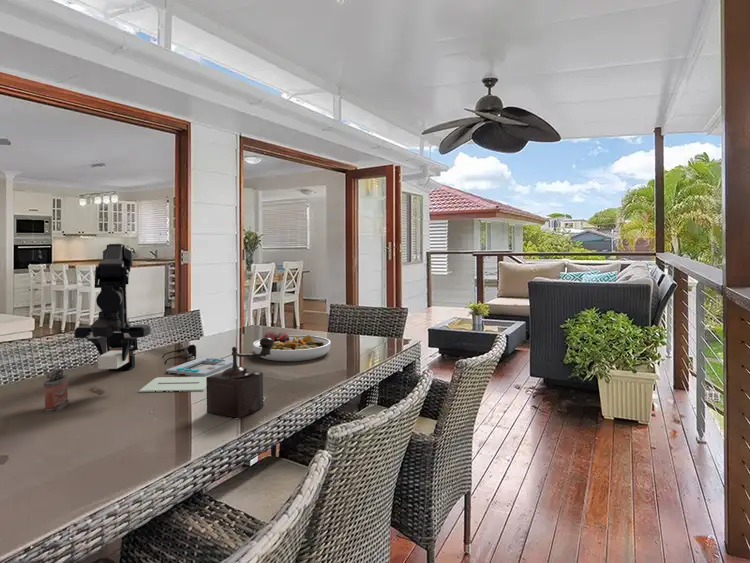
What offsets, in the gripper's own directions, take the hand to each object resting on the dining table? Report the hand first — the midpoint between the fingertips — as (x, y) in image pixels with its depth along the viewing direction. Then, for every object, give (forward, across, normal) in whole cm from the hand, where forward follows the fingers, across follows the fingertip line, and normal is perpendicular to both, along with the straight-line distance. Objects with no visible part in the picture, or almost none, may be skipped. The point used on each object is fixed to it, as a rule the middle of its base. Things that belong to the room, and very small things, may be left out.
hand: (114, 360), depth 139 cm
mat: (+9, +16, +6) cm, 19 cm away
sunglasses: (+10, +6, +40) cm, 41 cm away
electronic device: (+10, +18, +26) cm, 33 cm away
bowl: (+10, +47, +47) cm, 67 cm away
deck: (+1, 0, 0) cm, 1 cm away
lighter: (+9, -9, -13) cm, 18 cm away
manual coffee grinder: (+9, +39, -16) cm, 43 cm away
